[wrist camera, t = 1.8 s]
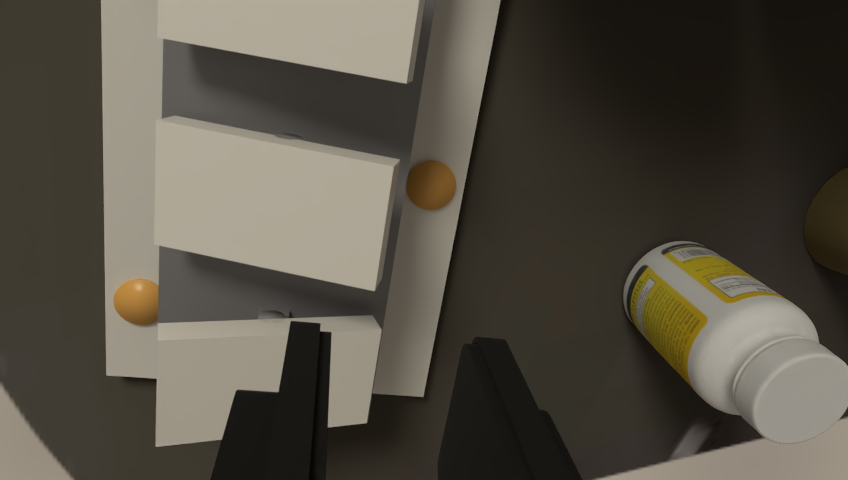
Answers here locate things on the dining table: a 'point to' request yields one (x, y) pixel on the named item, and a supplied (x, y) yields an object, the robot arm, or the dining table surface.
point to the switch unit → (314, 121)
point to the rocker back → (252, 370)
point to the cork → (829, 224)
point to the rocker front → (305, 31)
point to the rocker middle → (273, 201)
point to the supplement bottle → (736, 342)
